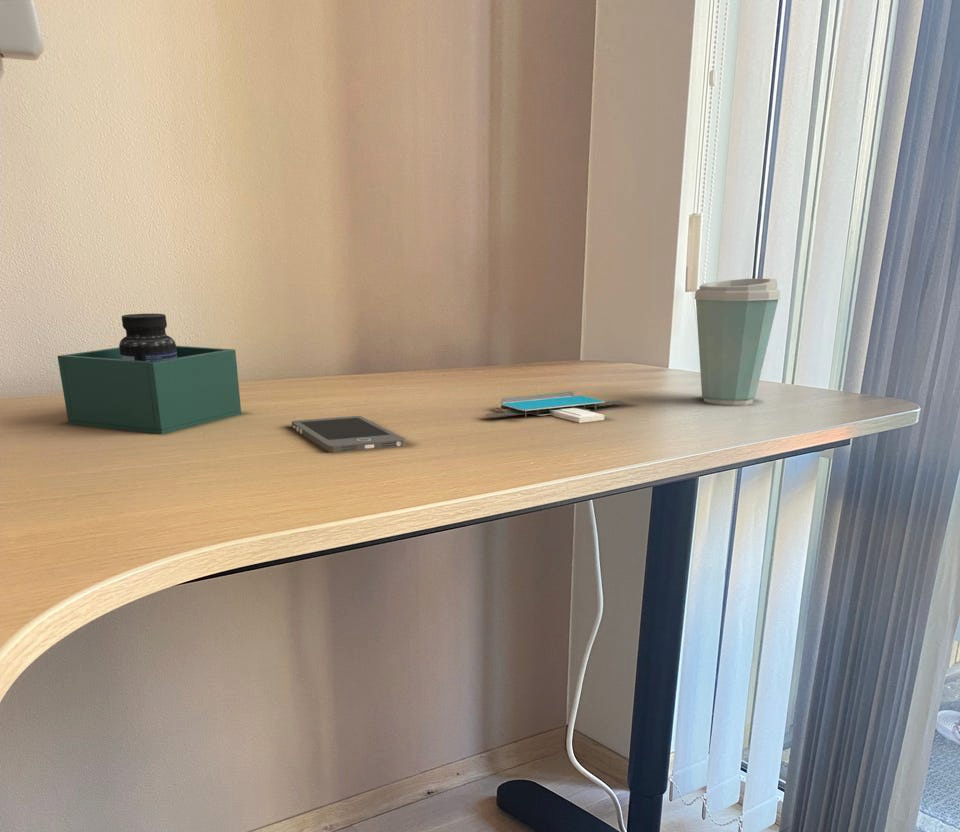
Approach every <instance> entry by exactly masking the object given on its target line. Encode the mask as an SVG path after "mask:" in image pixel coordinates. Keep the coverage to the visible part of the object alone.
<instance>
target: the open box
mask: <svg viewBox="0 0 960 832" xmlns="http://www.w3.org/2000/svg"><path fill="white" fill-rule="evenodd" d="M176 351H177V358H173V359H167V360H161V361H154V362H149V361H135V360H122V359H121V356H120V349H119V346H118V347H111V348H104V349H103V348H102V349H96V350H89V351H81V352H75V353H68V354H61V355H57V363H58V369H59V374H60V375H59V376H60V380H61V386H62V392H63V398H64V404H65V405H64V406H65V411H66V416H67V423H68V425H75V426H83V427H84V426H85V427H94V428H103V429H111V430H121V431H129V432H130V431H131V432H138V433H146V434H148V433H149V434H156V435H165V434H168V433H172V432H176V431H180V430H184V429H189V428H192V427H196V426H199V425H200V426H201V425H204V424H208V423H211V422H216V421H220V420H223V419H228V418H231V417H236V416H239V415H242V406H241V405H242V404H241V396H240V384H239V374H238V365H237V354H236V349H232V348H230V349H229V348H219V347H217V348H216V347H204V346H203V347H202V346H188V345H187V346H186V345H176Z"/></svg>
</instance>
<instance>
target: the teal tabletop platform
mask: <svg viewBox="0 0 960 832" xmlns="http://www.w3.org/2000/svg"><path fill="white" fill-rule="evenodd" d="M623 403H625V401H624V400H623V401H622V400H618V399H617V400H610V401H609V400H608V401H605V400H603V399H598V398H594V397H590V396H585V395H574V391H573V390H572V391H564V392H554V393H553V392H551V393H542V394H533V395H532V394H531V395H522V396H511V397H502V398H501V399H500V401H499V404H500V407H501V408H497V407H496V408H494V411H496V413H486V414H485V416H488V417H491V418H492V417H493V418H494V417H501V416H502V417H503V416H508V417H509V416H519V415H525V416H524V417H525V418H527V415H535V416H537V417H541V416H542V417H543V416H552V417H557V418H560V419H563V420H567V421H572V422H575V423H579V424H580V423H581V424H582V423H589V422H598V421H605V414H602V413H598V412H595V411H591V410H590V409H588V408H594V410H597V407H602V406H611V405H612V406H613V405H614V404H623ZM497 412H498V413H497Z"/></svg>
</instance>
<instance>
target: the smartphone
mask: <svg viewBox="0 0 960 832" xmlns="http://www.w3.org/2000/svg"><path fill="white" fill-rule="evenodd" d="M291 429H293V430H295V431H296V432H297V433H299V434H300V435H302V436H303V437H305V438H307V439H308V440H309V441H311V442H313V443H314V444H316V445H317V446H318V447H320V448H322V449H323V450H324V451H326V452H328V453H330V454H335V453H347V452H357V451H368V450H369V451H370V450H379V449H390V448H402V447H406V438H404V437H403V436H401V435H399V434H397V433H395V432H393V431H391V430H389V429H387V428H385V427H383V426H381V425H379V424H377V423H376V422H373V421H371V420H369V419H367V418H365V417H363V416H361V415H349V416H339V417H338V416H336V417H324V418H312V419H298V420H292V421H291Z"/></svg>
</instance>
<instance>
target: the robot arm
mask: <svg viewBox="0 0 960 832" xmlns="http://www.w3.org/2000/svg"><path fill="white" fill-rule="evenodd" d="M37 10H38V9H37V7H36V3H35V0H0V82H1V81H2V79H3V78H4V75H5V69H4V61H3V60H4V59H11V60H12V59H13V60H22V61H23V60H24V61H25V60H26V61H37V60H38V59H39V58H40V57H41V55H42V54H43V52H44V51H45V47H44V46H45V45H44V40H43V35H42V29H41V28H42V27H41V24H40V19H39V15H38V11H37Z"/></svg>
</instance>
